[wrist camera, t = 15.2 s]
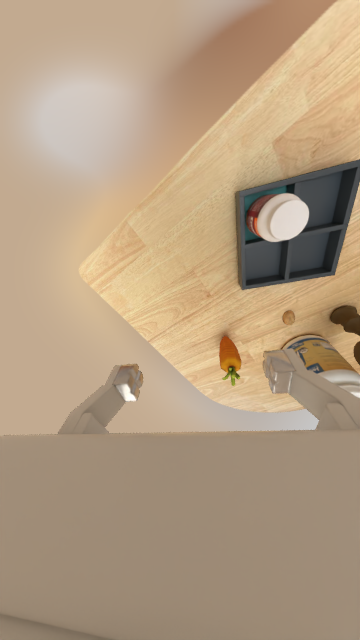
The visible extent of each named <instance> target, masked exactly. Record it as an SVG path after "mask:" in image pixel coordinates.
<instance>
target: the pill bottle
mask: <svg viewBox="0 0 360 640" xmlns="http://www.w3.org/2000/svg"><path fill="white" fill-rule="evenodd" d="M308 218H309V209H308V207H307V205H306V204H305V203H304V202H303V201H301V200H300V198H299V197H297V196H296V195H294V194H290V193H283V194H272V195H264V196H261V197H259V198H258V199H256V200H255V201H254V202H253V203H252V204H251V206H250V207H249V209H248V211H247V214H246V225H247V227H248V229H249V230H250V231H251V232H252V233H254V234H255V235H257V236H259V237H261V238H263V239H265V240H267V241H270V242H278V241H282V240H289V239H291V238H293V237H295V236H297V235H298V234H299V233H300V232H301V231H302V230H303V229H304V227H305V226H306V224H307V221H308Z"/></svg>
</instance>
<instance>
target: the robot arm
mask: <svg viewBox="0 0 360 640" xmlns="http://www.w3.org/2000/svg"><path fill="white" fill-rule="evenodd" d="M263 357H264V359H265V360H264V361H263V370H264V373H265V376H266V377H267V378H268V379H269V386H270V388H271V391H272V393H273V394H274V393H289V394H290V395H291V396H292V397H293V398H294V399H296V400H297V401H298V402H299V403H300V404H301V405H302V406H304V407H305V408H306V409H307V410H308V411H309V412H311V413H312V414H313V415H314V416H315V417H316V418H317V419H318V420H319V423H318V425H317V427H316V429H315V430H292V431H291V430H289V431H231V432H230V431H228V432H173V433H171V432H168V433H109V432H108V431H107V430H106V429H105V427H106V426H107V424H108V423H109V422H110V421H111V419H112V418H113V417H114V416H115V415H116V413H117V412H118V411H119V410H120V409H121V407H122V406H123V405H124V403H125V402H129V401H137V400H138V397H139V393H140V390H139V388H140V387H141V386H142V383H143V375H142V372H141V371H139V370H138V369H139V366H138V365H137V364H127V365H116V366H115V367H114V368H113V370H112V372H111V374H110V376H109V378H108V380H107V382H106V384H105V385H104V386H102V387H100V388H99V389H98V390H97V391H96V392H94V393H93V394H92V395H91V396H90V397H89V398H87V399H86V400H85V401H84V402H83V403H81V404H80V405H79V406H78V407H77V408H76V409H74V410H73V411H72V412H71V413H70V414H69V416H68V418H67V419H66V421H65V423H64V424H63V426H62V428H61V429H60V431H59V432H58V434H46V435H3V436H0V640H360V398H358V397H356V396H355V395H353V394H351V393H349V392H348V391H346V390H344V389H342V388H341V387H339V386H337V385H336V384H334V383H332V382H330V381H329V380H327V379H325V378H323V377H322V376H320V375H318V374H316V373H315V372H313V371H311V370H307V369H306V367H305V366H304V364H303V363H302V361H301V360H300V358H299V357H298V355H297V354H296V352H295V351H294V350H293V349H292V348H291V349H282V350H272V351H264V353H263Z"/></svg>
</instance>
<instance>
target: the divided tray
mask: <svg viewBox="0 0 360 640" xmlns="http://www.w3.org/2000/svg"><path fill="white" fill-rule="evenodd" d="M359 182H360V160H356V161H352V162H348V163H345V164H341V165H337V166H333V167H330V168H326V169H322V170H318V171H314V172H311V173H307V174H303V175H299V176H296V177H292V178H288V179H284V180H280V181H277V182H273V183H269V184H265V185H262V186H258V187H254V188H250V189H246V190H243V191H239V192H236V193H235V198H236V224H237V250H238V276H239V285H240V287H241V289H242V290H245V289H251V288H257V287H263V286H270V285H276V284H282V283H288V282H294V281H300V280H307V279H313V278H319V277H325V276H331V275H335V272H336V268H337V264H338V260H339V256H340V253H341V249H342V245H343V241H344V238H345V234H346V230H347V227H348V223H349V220H350V216H351V212H352V208H353V205H354V201H355V197H356V193H357V190H358V186H359ZM283 193H290V194H294V195H296V196H297V197H299V198H300V200H301V201H303V202H304V203H305V204H306V205H307V207H308V209H309V218H308V221H307V224H306V226H305V227H304V229H303V230H302V231H301V232H300V233H299V234H298V235H297V236H295V237H293V238H291V239H289V240H282V241H278V242H270V241H267V240H265V239H263V238H261V237H259V236H257V235H255V234H254V233H252V232H251V231H250V230H249V229H248V227H247V225H246V214H247V211H248V209H249V207H250V206H251V204H252V203H253V202H254V201H255V200H256V199H258V198H259V197H261V196H264V195H272V194H283Z"/></svg>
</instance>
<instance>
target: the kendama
mask: <svg viewBox="0 0 360 640" xmlns="http://www.w3.org/2000/svg"><path fill="white" fill-rule="evenodd" d="M331 321H332V322H333V323H335V324H341V325H342V326H344V330H345V331H346V332H349V333H355V334H357V335H359V336H360V315H358V314H357V310H356V308H355V307H352V306H344V307H340V308H338V309H336V310H335V311H334V312H333V314H332V316H331ZM354 357H355V359H356V361H357V362H358V364H359V365H360V342H357V343H356V345H355V346H354Z"/></svg>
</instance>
